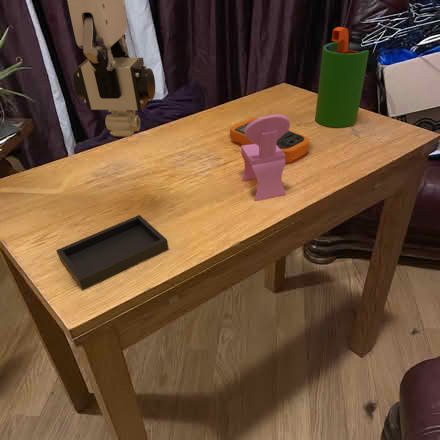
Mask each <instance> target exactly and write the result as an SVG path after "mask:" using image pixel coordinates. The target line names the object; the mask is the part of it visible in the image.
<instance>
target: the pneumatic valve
mask: <svg viewBox="0 0 440 440" xmlns="http://www.w3.org/2000/svg"><path fill="white" fill-rule="evenodd" d="M111 55H112V54H111ZM112 66H113V69H116V74H117V79H118V84H119V89H120V94H121V96H120V98H119V99H102V98H100V96H99V91H98V87H97V83H96V79H95V74H94V71H93V70H92V67H91V63H90V62H89V60H88V58H86V59H85V60H84V61H83V62H82V63H80V64H79V65H78V66H77V67H76V69H75V70H74V71H73V77H72V82H73V88H74V91H75V94H76V96H77V97H78V98H79V99H80V100H84V102H83V103H85V104H86V107H87V110H95V111H98V110H99V111H108V113H111V114H107V115H106V116H105V127H106V129H107V130H108V131H109V134H110V135H111V136H113V137H127V138H132V137H133V136H135V132H139V131H140V129H141V119H140V116H139V115H138V114H136V111H143V109H144V107H145V106H146V105H147V104H148V102H149V101H152V100H154V98H155V95H156V79H155V73H154V71H153V70H152V68H150V67H147V64H145V62H144V57H128V58H123V57H120V58H115V57H113V56H112Z"/></svg>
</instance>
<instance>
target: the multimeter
mask: <svg viewBox="0 0 440 440" xmlns="http://www.w3.org/2000/svg"><path fill="white" fill-rule="evenodd" d="M256 119H258V118H257V117H251V118H249V119H247V120H244V121H242V122H240V123H237V124H235V125H233V126H230V128H229V137H230V139H231V141H232V142H234V143H236V144H240V145H241V146H243V145H250V144H254V143H252V142H251V141H250V140H248V139H247V138H246V135H245V128H246V126H247V125H248V124H249V123H251V122H252V121H254V120H256ZM276 145H277V146H278V147H279V149H280V150H281V151H282V152H283V153H284V154H285V163H291V162H293V161H296V160H297V159H299V158H301V157H303V156H304V155H305V154H307V153H308V151H309V147H310V139H309V138H308V137H307V136H305V135H304V134H300V133H297V132H294V131H291V130H290V129H289V130H288V131H287V132H286V133H285V134H284V135H282V136H281V137H280V138H279V139H278V140H277V143H276Z"/></svg>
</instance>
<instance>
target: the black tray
mask: <svg viewBox="0 0 440 440" xmlns="http://www.w3.org/2000/svg"><path fill="white" fill-rule="evenodd" d="M168 250H169V243H168V239H167V238H166V237H165V236H163V234H162V233H160V232H159V231H158V230H157V229H156V228H155V227H154V226H153V225H152V224H150V223H149V222H148V221H147V220H146V219H145V218H144V217H143V216H141V215H140V214H138V215H136V216H133V217H131V218H128V219H126V220H123V221H120V222H119V223H117V224H114V225H111V226H110V227H107V228H104V229H103V230H100V231H98V232H95V233H93V234H91V235H88V236H85V237H84V238H82V239H79V240H77V241H75V242H72V243H70V244H67V245H65V246H62V247H61V248H57V249H56V250H55V251H56V254H57V256H58V258H59V260H60V262H61V263H62V265H63V266H64V267H65V268H66V270H67V271H68V273H69V274H70V275H71V277H72V278H73V279H74V281H75V282H76V283H77V285H78V286H79V288H80V289H81V290H82V291H84V290H86V289H88V288H90V287H93V286H94V285H95V286H96V285H97V284H99V283H101V282H103V281H105V280H107V279H109V278H111V277H113V276H116V275H117V274H120V273H123V272H124V271H126V270H128V269H130V268H132V267H134V266H137V265H139V264H141V263H142V262H144V261H147V260H149V259H151V258H153V257H155V256H157V255H159V254H162V253H164V252H166V251H168Z"/></svg>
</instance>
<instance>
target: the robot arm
mask: <svg viewBox="0 0 440 440" xmlns="http://www.w3.org/2000/svg"><path fill="white" fill-rule="evenodd" d="M66 1H67V6H68V11H69V16H70V21H71V25H72V30H73V35H74V38H75V43H76V45H77V46H78V48H79V49H82V51H83V54H84V56H85V57H86V59H88V60H89V62H90V63H91V67H92V70H93V71H94V74H95V79H96V83H97V87H98V91H99V96H100V98H102V99H119V98H120V96H121V94H120V89H119V84H118V79H117V74H116V69H113V66H112V56H113V57H115V58H120V57H123V58H129V55H128V53H129V50H128V49H129V48H128V45H127V42H126V39H127V37H126V36H127V35H126V33H127V30H128V21H127V20H128V19H127V11H126V6H125V5H126V4H125V1H124V0H66ZM97 42H102V45H97ZM99 52H104V55H103V54H102V53H99ZM111 54H112V55H111Z"/></svg>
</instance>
